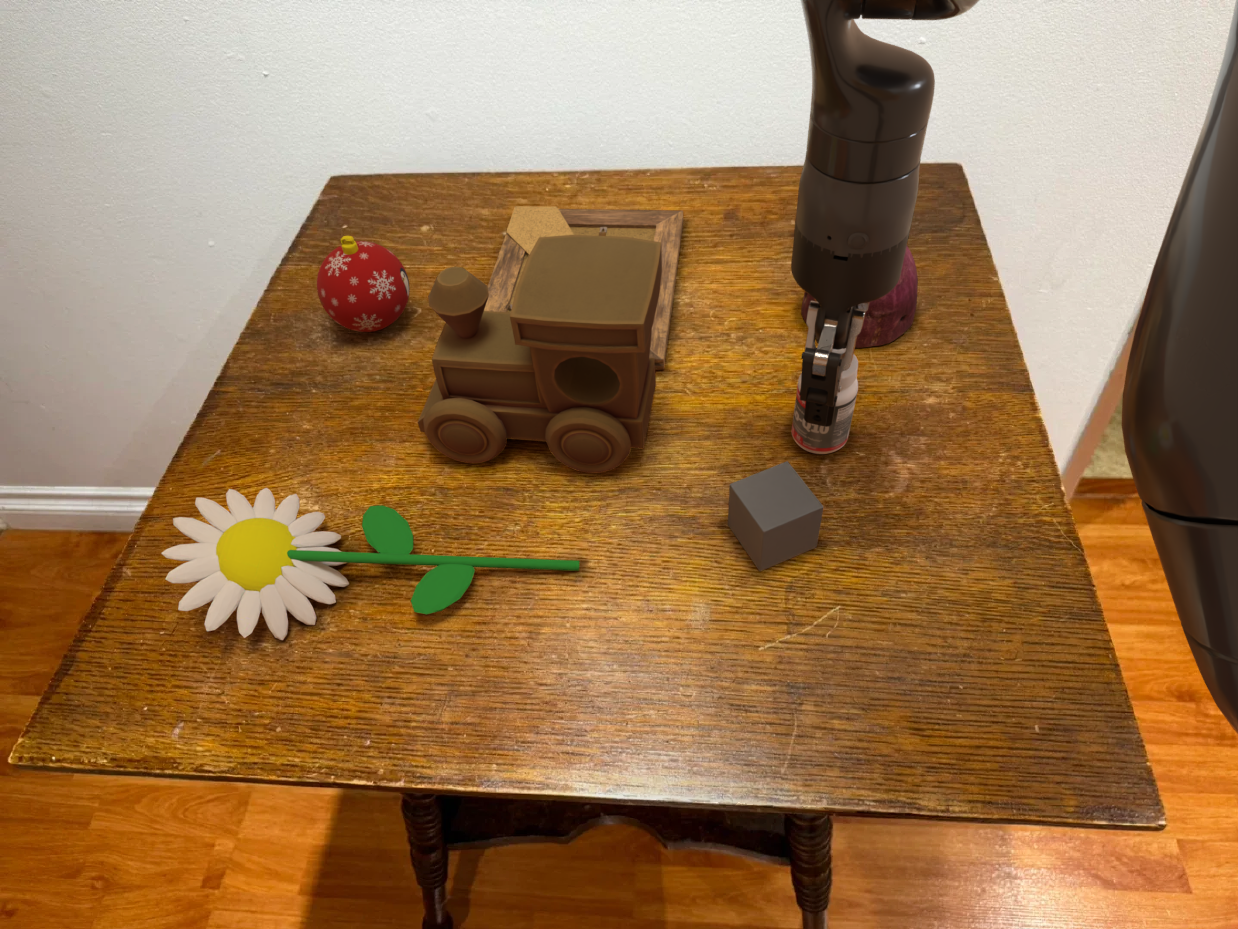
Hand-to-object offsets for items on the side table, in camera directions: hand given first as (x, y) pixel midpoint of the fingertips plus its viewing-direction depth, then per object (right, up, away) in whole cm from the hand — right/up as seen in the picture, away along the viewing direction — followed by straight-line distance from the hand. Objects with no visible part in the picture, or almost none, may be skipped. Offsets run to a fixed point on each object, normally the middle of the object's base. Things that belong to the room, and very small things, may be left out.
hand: (825, 398), depth 72 cm
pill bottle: (0, -3, +3) cm, 5 cm away
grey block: (-5, -11, -3) cm, 12 cm away
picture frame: (-20, +12, +19) cm, 30 cm away
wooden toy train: (-23, -2, +6) cm, 24 cm away
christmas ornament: (-41, +9, +17) cm, 45 cm away
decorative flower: (-34, -14, -3) cm, 37 cm away
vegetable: (+6, +9, +13) cm, 17 cm away
